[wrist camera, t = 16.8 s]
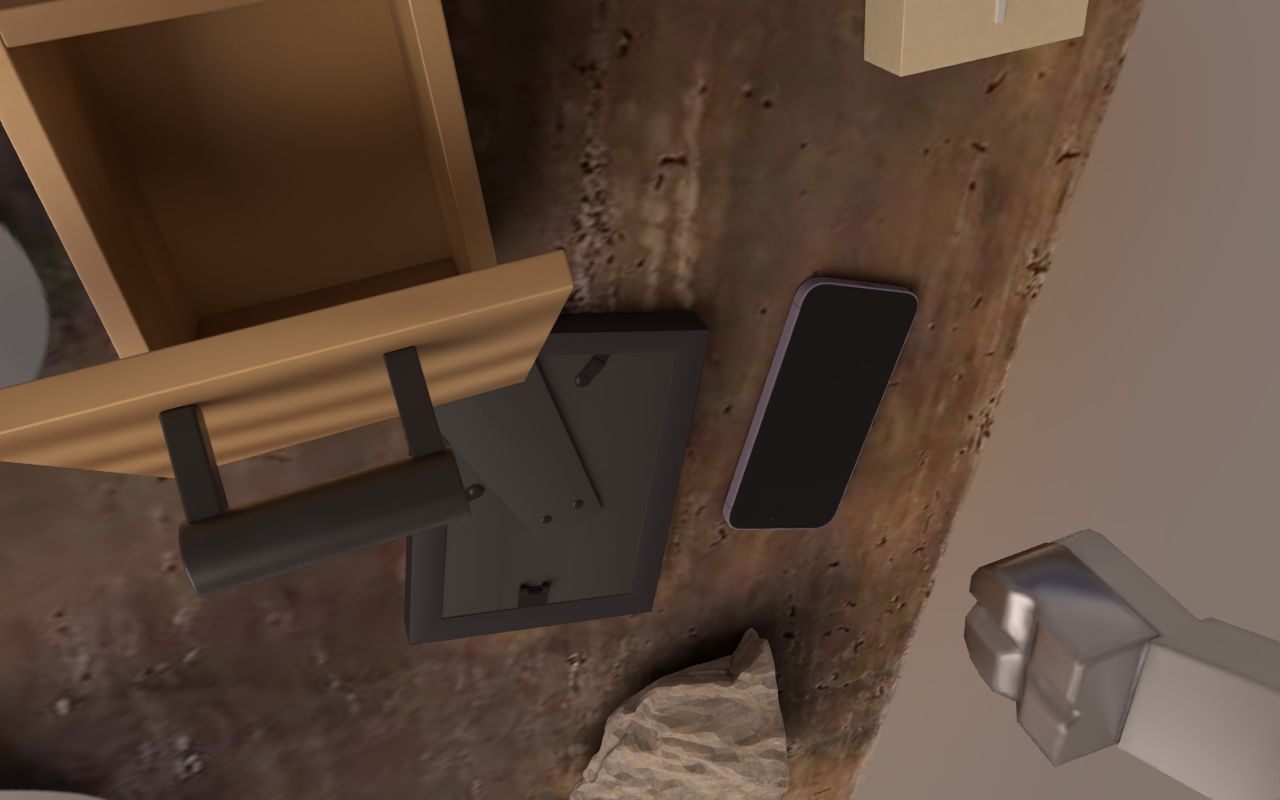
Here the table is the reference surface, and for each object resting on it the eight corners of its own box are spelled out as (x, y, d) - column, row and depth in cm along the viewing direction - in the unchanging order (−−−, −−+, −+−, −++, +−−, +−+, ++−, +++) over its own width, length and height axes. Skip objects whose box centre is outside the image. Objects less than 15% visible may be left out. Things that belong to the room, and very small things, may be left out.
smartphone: (926, 293, 49) (831, 529, 55) (914, 285, 50) (821, 517, 56) (807, 279, 46) (721, 530, 52) (797, 270, 47) (714, 518, 53)
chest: (18, -39, 30) (-53, 18, 23) (388, -98, 32) (427, -64, 25) (184, 332, 38) (170, 458, 31) (472, 262, 40) (519, 363, 33)
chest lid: (-90, 410, 16) (-23, 668, 16) (564, 248, 19) (630, 470, 19) (165, 454, 31) (203, 592, 30) (518, 359, 33) (555, 485, 33)
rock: (722, 770, 68) (775, 906, 60) (544, 792, 63) (577, 942, 56) (784, 612, 60) (855, 745, 52) (586, 624, 55) (631, 772, 47)
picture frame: (412, 315, 41) (404, 619, 50) (420, 340, 39) (409, 650, 48) (695, 310, 46) (641, 589, 54) (713, 332, 44) (654, 616, 53)
